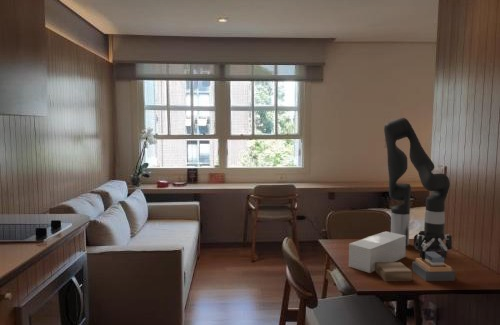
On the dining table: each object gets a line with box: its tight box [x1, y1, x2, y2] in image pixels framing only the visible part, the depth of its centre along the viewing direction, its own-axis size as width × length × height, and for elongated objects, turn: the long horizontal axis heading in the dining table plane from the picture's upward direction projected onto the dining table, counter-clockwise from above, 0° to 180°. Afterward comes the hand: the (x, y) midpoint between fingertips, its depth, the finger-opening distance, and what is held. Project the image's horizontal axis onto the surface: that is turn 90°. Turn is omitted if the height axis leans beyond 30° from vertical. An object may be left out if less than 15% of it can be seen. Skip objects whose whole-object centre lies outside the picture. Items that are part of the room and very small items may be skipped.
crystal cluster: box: [413, 230, 442, 253], centre depth 192 cm, size 14×14×10 cm
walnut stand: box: [374, 261, 413, 282], centre depth 157 cm, size 11×11×4 cm
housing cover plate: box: [425, 252, 445, 263], centre depth 157 cm, size 5×8×2 cm, turn 2°
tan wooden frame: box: [411, 257, 456, 282], centre depth 157 cm, size 12×12×6 cm
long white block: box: [348, 231, 407, 274], centre depth 175 cm, size 32×11×11 cm, turn 131°
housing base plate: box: [422, 258, 445, 267], centre depth 157 cm, size 5×8×3 cm, turn 2°
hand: (433, 259), depth 157 cm, fingers open, 8 cm apart
